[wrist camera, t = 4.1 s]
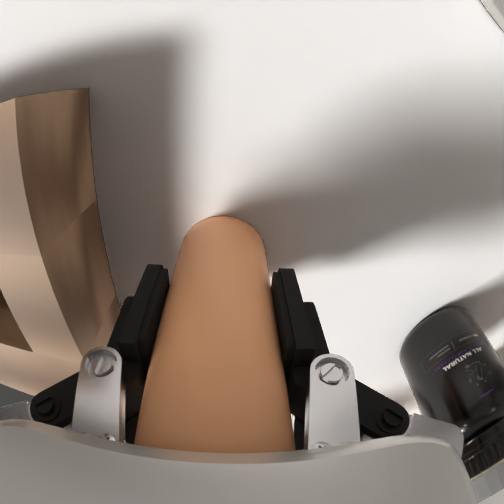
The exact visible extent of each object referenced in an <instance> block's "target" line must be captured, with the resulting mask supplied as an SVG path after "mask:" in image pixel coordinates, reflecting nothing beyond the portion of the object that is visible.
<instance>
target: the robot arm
mask: <svg viewBox="0 0 504 504" xmlns="http://www.w3.org/2000/svg"><path fill="white" fill-rule="evenodd" d="M480 1H481V2H482V4H483V5H484V6H485V8H486V9H487V11H488V12H489V13H490V15H491V16H492V17H493V18H494V20H495V21H496V22H497V24H498V25H499V26H500V28H501V29H502V30H503V31H504V0H480ZM169 286H170V285H169V276H168V270H167V269H163V266H162V265H154V264H148V265H147V267H146V269H145V271H144V274H143V276H142V279H141V281H140V284H139V286H138V289H137V291H136V294H135V296H134V297H127V298H126V299H125V301H124V304H123V306H122V308H121V311H120V313H119V316H118V318H117V321H116V323H115V326H114V329H113V331H112V334H111V336H110V339H109V342H108V344H107V347H106V346H101V347H96V348H93V349H91V350H90V351H88V352H87V353H86V354H85V355H84V357H83V358H82V361H81V365H80V370H79V372H77V373H75V374H73V375H71V376H69V377H68V378H66V379H64V380H62V381H60V382H58V383H56V384H54V385H53V386H51V387H49V388H47V389H45V390H43V391H41V392H40V393H38V394H37V395H35V397H34V398H33V399H32V402H31V403H28V402H27V401H23V402H20V403H16V404H12V405H8V406H5V407H1V408H0V504H478V503H477V499H476V496H475V492H474V489H473V486H472V483H471V480H470V477H469V474H468V472H467V470H466V467H465V465H464V463H463V461H462V459H461V457H462V450H463V443H464V436H463V433H462V431H461V429H460V428H459V427H458V426H456V425H454V424H450V423H447V422H443V421H439V420H436V419H432V418H429V417H425V416H422V415H419V414H415V413H414V414H413V415H409V414H408V412H407V411H406V410H405V408H404V407H402V406H401V405H400V404H398V403H396V402H395V401H393V400H391V399H389V398H387V397H385V396H384V395H382V394H380V393H378V392H377V391H375V390H373V389H371V388H370V387H368V386H366V385H364V384H363V383H361V382H359V381H357V380H356V379H355V375H354V370H353V367H352V365H351V364H350V362H349V361H347V360H346V359H345V358H343V357H341V356H339V355H335V354H330V353H329V350H328V347H327V343H326V340H325V337H324V334H323V330H322V327H321V324H320V321H319V317H318V314H317V311H316V308H315V305H314V303H313V302H303V300H302V296H301V292H300V289H299V285H298V282H297V278H296V275H295V272H294V269H285V268H279V270H278V272H273V277H272V284H271V292H272V298H273V304H274V310H275V317H276V323H277V329H278V335H279V342H280V348H281V355H282V361H283V368H284V373H285V379H286V386H287V393H288V399H289V406H290V413H291V414H292V426H293V433H294V440H295V447H296V451H284V452H266V453H211V452H193V451H181V450H171V449H162V448H154V447H147V446H140V445H134V441H135V435H136V429H137V424H138V418H139V413H140V408H141V402H142V397H143V393H144V388H145V383H146V378H147V374H148V369H149V365H150V361H151V356H152V352H153V348H154V344H155V339H156V335H157V331H158V327H159V323H160V320H161V316H162V312H163V308H164V304H165V301H166V297H167V293H168V290H169Z"/></svg>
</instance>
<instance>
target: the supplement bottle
mask: <svg viewBox="0 0 504 504" xmlns="http://www.w3.org/2000/svg"><path fill="white" fill-rule="evenodd" d="M400 362H401V365H402V368H403V370H404V373H405V375H406V378H407V380H408V382H409V385H410V387H411V390H412V392H413V395H414V397H415V400H416V402H417V405H418V407H419V410H420V413H421V415H422V416H425V417H429V418H432V419H436V420H439V421H443V422H447V423H450V424H454V425H456V426H458V427H459V428H460V429H461V431H462V433H463V436H464V443H463V450H462V457H461V459H462V461H463V463H464V465H465V467H466V470H467V472H468V474H469V477H470V479H472V478H474V477H475V476H477V475H479V474H481V473H482V472H484V471H486V470H487V469H489V468H490V467H492V466H493V465H495V464H497V463H498V462H500V461H501V460H503V459H504V365H503V363H502V361H501V360H500V358H499V356H498V355H497V353H496V351H495V350H494V348H493V347H492V345H491V343H490V342H489V340H488V339H487V337H486V336H485V334H484V333H483V331H482V330H481V328H480V327H479V325H478V324H477V322H476V321H475V320H474V318H473V317H472V316H471V314H470V313H469V312H468V311H467V310H466V309H464V308H461V307H449V308H445V309H442V310H440V311H438V312H436V313H434V314H432V315H430V316H429V317H427V318H426V319H425V320H423V321H422V322H421V323H420V324H418V325H417V326H416V327H415V328H414V329H413V330H412V331H411V332H410V334H409V335H408V336H407V338H406V339H405V341H404V343H403V345H402V347H401V350H400Z"/></svg>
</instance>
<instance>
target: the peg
mask: <svg viewBox="0 0 504 504" xmlns="http://www.w3.org/2000/svg"><path fill="white" fill-rule="evenodd" d="M134 445H140V446H147V447H154V448H162V449H171V450H181V451H193V452H211V453H266V452H284V451H296V447H295V440H294V433H293V426H292V420H291V413H290V406H289V399H288V393H287V386H286V379H285V373H284V368H283V361H282V355H281V348H280V342H279V335H278V329H277V323H276V317H275V310H274V304H273V298H272V292H271V285H270V279H269V272H268V266H267V260H266V254H265V248H264V244H263V241H262V239H261V237H260V235H259V234H258V232H257V231H256V230H255V229H254V228H253V227H252V226H251V225H249V224H248V223H246V222H244V221H242V220H240V219H237V218H234V217H229V216H216V217H210V218H207V219H204V220H202V221H200V222H198V223H197V224H195V225H194V226H193V227H192V228H191V229H190V230H189V231H188V232H187V234H186V235H185V237H184V239H183V242H182V245H181V249H180V252H179V255H178V259H177V262H176V265H175V269H174V272H173V276H172V279H171V283H170V286H169V290H168V293H167V297H166V301H165V304H164V308H163V312H162V316H161V320H160V323H159V327H158V331H157V335H156V339H155V344H154V348H153V352H152V356H151V361H150V365H149V369H148V374H147V378H146V383H145V388H144V393H143V397H142V402H141V408H140V413H139V418H138V424H137V429H136V435H135V441H134Z"/></svg>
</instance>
